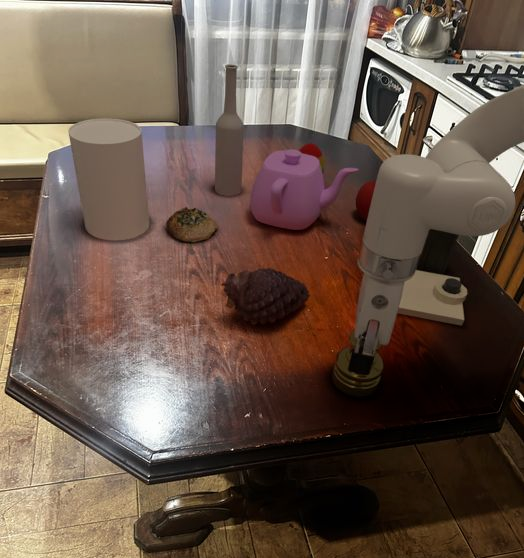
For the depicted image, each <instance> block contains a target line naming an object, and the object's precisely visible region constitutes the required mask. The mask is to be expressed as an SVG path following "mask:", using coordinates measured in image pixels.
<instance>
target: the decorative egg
mask: <svg viewBox="0 0 524 558" xmlns="http://www.w3.org/2000/svg"><path fill="white" fill-rule="evenodd" d="M298 151H300V152H301V153H302V154H307V155H311V156H314V157H316V158H317V159H318V160H319V162H320V166H321V170H322V174H323V175H324V172H325V158H324V155H323V152H322V150H321V149H320V147H319V146H318V145H316V144H315V143H312V142H310V143H305V144H303V146H301V147H300V148H299V150H298Z"/></svg>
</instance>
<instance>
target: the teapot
mask: <svg viewBox="0 0 524 558" xmlns="http://www.w3.org/2000/svg"><path fill="white" fill-rule="evenodd" d="M263 161H264V162H262V164H261V167H260V168H259V171H258V172H257V175H256V177H255V179H254V182H253V184H252V188H251V194H250V200H249V208H250V211H251V213H252V215H253V217H254V219H255V220H256V221H257V222H260V223H262V224H265V225H269V226H273V227H275V228H276V227H277V228H282V229H287V230H295V231H298V230H299V231H300V230H304V229H307V228H308V227H310V226H311V225H312V224H313V223H314V222H315V221H316V220H317V219H318V218H319V217H320V215H321V214H322V212H323V209H326V208H328V207H329V206H331V205H332V204H333V203H334V202H335V201H336V200H337V198H338V196H339V193H340V191H341V188H342V186H343V183H344V182H345V180H346V179H347V177H349V176H350V175H351V174H353V173H355V172H357V171H359V168H356V167H345V168H341V169H340V170H339V171H338V172H337V174H336V175H335V177H334V179H333V182H332V184H331V185H330V186H329V187H328V188H325V181H324V173H323V174H322V170H321V166H320V162H319V160H318V159H317V158H316V157H314V156H311V155H307V154H302V153H301V152H300V151H299V150H298V149H293V148H292V149H286V150H283V149H282V150H276V151H274V152H272V153H270V154H269V155H268V156H267V157H266V158H265V159H264V160H263Z"/></svg>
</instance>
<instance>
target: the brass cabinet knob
mask: <svg viewBox="0 0 524 558" xmlns="http://www.w3.org/2000/svg"><path fill="white" fill-rule="evenodd" d="M364 333H365V334H366V331H365V332H364ZM354 334H355V329H353V330H351V332H350V333H349V335H348V341H349V343H350V345H346V346H344V347H342V348H340V349H339V350H338V351H337V353H336V355H335V359H334V364H333V369H332V374H331V380H332V382H333V384H334V386H335V387H336V388H337V389H338V390H340V391H341V392H343V393H344V394H347V395H348V396H351V397H352V396H353V397H367V396H370V395H371V394H374V393H375V391H376V390H377V389H378V386H379V383H380V381H381V379H382V374H383V372H384V369H385V362H384V360H383V358H382V356H381V355H380V354H379V353H378V351H380V349H381V348H382V347H383V345H382V344H380V342H379V339H378V343H377V347H376V350H375V357H374V361H373V364H372V367H371V370H370V374H369V375H364V374H359V373H354V372H350V371H348V366H349V362H350V358H351V355H352V351H353V349H355V347H356V343H357V339H356V338H355V336H354ZM364 342H365V340H361V344H360V346H364Z"/></svg>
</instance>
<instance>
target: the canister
mask: <svg viewBox="0 0 524 558" xmlns="http://www.w3.org/2000/svg"><path fill="white" fill-rule="evenodd" d="M67 133H68V137H69V143H70V144H69V145H70V148H71V153H72V160H73V165H74V171H75V176H76V182H77V187H78V194H79V198H80V204H81V211H82V216H83V221H84V227H85V230H86V232H87V233H88V234H89V235H90V236H92V237H94V238H97V239H100V240H106V241H125V240H131V239H135V238H137V237H139V236H142V235H143V234H144V233H146V232H147V231H148V229H149V227H150V214H149V213H150V212H149V204H148V203H149V201H148V192H147V191H148V190H147V180H146V169H145V168H146V167H145V166H146V165H145V156H144V144H143V143H144V142H143V132H142V128H141V127H140V126H139V125H138V124H137V123H135V122H132V121H130V120H126V119H122V118H121V119H120V118H112V117H111V118H110V117H103V118H101V117H100V118H98V117H97V118H91V119H86V120H82V121H79V122H76V123H74V124H73V125H70V127H69V128H68V132H67Z"/></svg>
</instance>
